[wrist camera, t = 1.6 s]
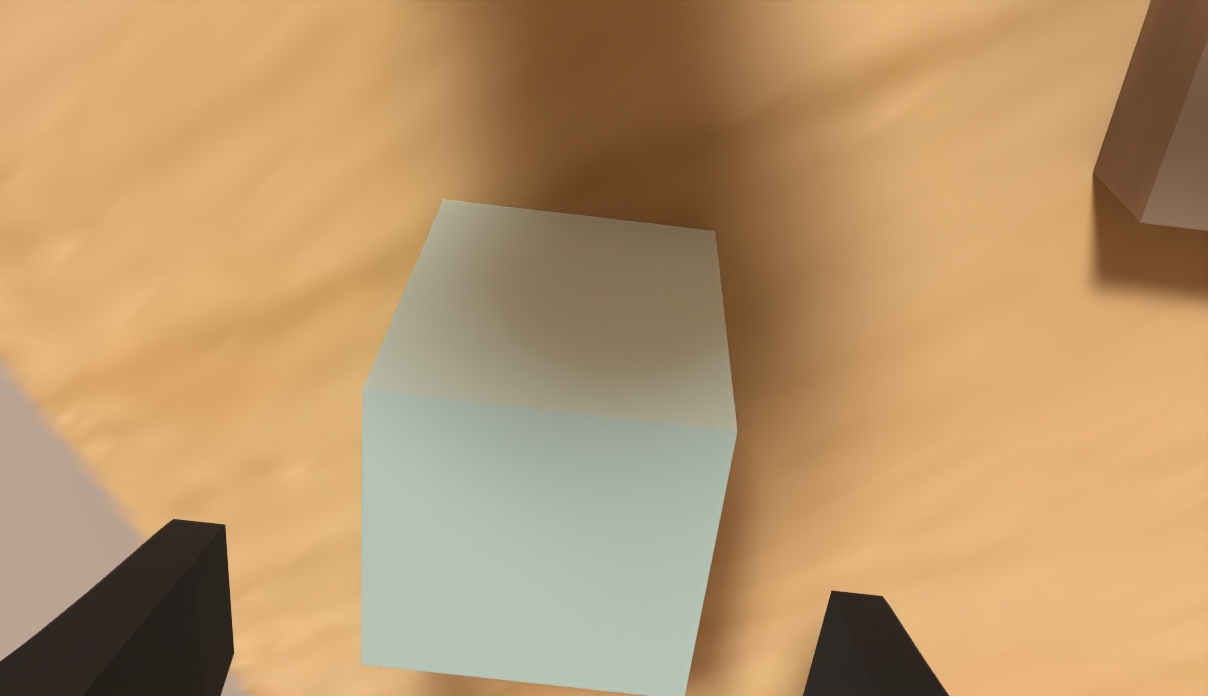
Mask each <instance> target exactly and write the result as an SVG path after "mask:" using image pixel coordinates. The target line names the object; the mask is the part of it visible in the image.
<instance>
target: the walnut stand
mask: <svg viewBox="0 0 1208 696" xmlns="http://www.w3.org/2000/svg"><path fill="white" fill-rule="evenodd" d="M1094 174H1095V175H1096V176H1097V177H1098V178H1099V179H1100V180H1101V181H1102V182H1103V183H1104V185H1105V186H1106V187H1107V188H1108V189H1109V190H1110V191H1111V192H1112V193H1113V194H1114V195H1115V196H1116V198H1117V199H1118V200H1119V201H1120V202H1121V203H1122V204H1123V205H1124V206H1125V207H1126V208H1127V209H1128V210H1129V212H1130V213H1131V214H1132V215H1133V216H1134V217H1135V218H1136V219H1137V220H1138V221H1139V222H1140V223H1146V224H1154V225H1163V226H1171V227H1180V228H1188V229H1197V230H1205V231H1208V0H1152V1H1151V4H1150V7H1149V10H1148V13H1147V16H1146V19H1145V22H1144V25H1143V28H1142V31H1141V34H1140V37H1139V40H1138V43H1137V46H1136V49H1135V52H1134V54H1133V57H1132V60H1131V63H1130V66H1129V69H1128V72H1127V75H1126V78H1125V81H1124V84H1123V87H1122V90H1121V93H1120V96H1119V99H1118V102H1117V105H1116V108H1115V111H1114V114H1113V117H1112V119H1111V122H1110V125H1109V128H1108V131H1107V134H1106V137H1105V140H1104V143H1103V146H1102V149H1101V152H1100V155H1099V158H1098V161H1097V164H1096V167H1095V170H1094Z"/></svg>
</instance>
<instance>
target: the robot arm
mask: <svg viewBox="0 0 1208 696" xmlns="http://www.w3.org/2000/svg"><path fill="white" fill-rule="evenodd" d="M233 655H234V644H233V630H232V616H231V601H230V587H229V573H228V558H227V544H226V530H225V525H223V524H214V523H205V522H196V521H187V520H177V519H173V520H172V521H170V522H169V523H168V524H166V525H165V526H164V527H163V528H161V529H160V530H159V531H158V532H157V533H155V534H154V535H153V536H152V537H151V538H150V539H148V540H147V541H146V542H145V543H144V544H143V545H141V546H140V547H139V548H138V549H137V550H136V551H135V552H133V553H132V554H131V555H130V556H129V557H128V558H127V559H125V560H124V561H123V562H122V563H121V564H120V565H119V566H117V567H116V568H115V569H114V570H113V571H112V572H110V573H109V574H108V575H107V576H106V577H105V578H103V579H102V580H101V581H100V582H99V583H97V584H96V585H95V586H94V587H93V588H92V589H90V590H89V591H88V592H87V593H86V594H85V595H83V596H82V597H81V598H80V599H78V600H77V601H76V602H75V603H74V604H72V605H71V606H70V607H69V608H67V609H66V610H65V611H64V612H63V613H61V614H60V615H59V616H58V617H57V618H55V619H54V620H53V621H52V622H50V623H49V624H48V625H47V626H46V627H44V628H43V629H42V630H41V631H39V632H38V633H37V634H36V635H34V636H33V637H32V638H31V639H29V640H28V641H27V642H25V643H24V644H23V645H22V646H20V647H19V648H18V649H16V650H15V651H14V652H12V653H11V654H10V655H8V656H7V657H5V658H4V659H3V660H2V661H0V696H221V692H222V689H223V686H224V683H225V680H226V677H227V673H228V670H229V667H230V664H231V661H232V658H233ZM803 696H949V695H948V693H947V692H946V690H945V689H944V688H943V686H942V685H941V683H940V682H939V680H938V679H937V677H936V676H935V674H934V673H933V671H932V670H931V668H930V667H929V665H928V664H927V662H926V661H925V659H924V658H923V656H922V655H921V653H920V652H919V650H918V649H917V647H916V646H915V644H914V643H913V641H912V639H911V638H910V636H909V635H908V633H907V632H906V630H905V629H904V627H903V626H902V624H901V622H900V621H899V619H898V618H897V616H896V615H895V613H894V612H893V610H892V609H891V607H890V606H889V604H888V603H887V602H886V600H885V599H884V598H883V596H876V595H867V594H857V593H848V592H839V591H831V595H830V598H829V602H828V606H827V609H826V613H825V617H824V621H823V624H822V628H821V632H820V635H819V639H818V643H817V646H816V650H815V654H814V657H813V661H812V665H811V668H810V672H809V676H808V679H807V683H806V687H805V690H804V694H803Z"/></svg>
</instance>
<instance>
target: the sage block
mask: <svg viewBox="0 0 1208 696" xmlns="http://www.w3.org/2000/svg"><path fill="white" fill-rule="evenodd" d="M737 432H738V431H737V422H736V413H735V404H734V395H733V386H732V377H731V368H730V359H729V350H728V341H727V332H726V323H725V314H724V305H723V296H722V287H721V278H720V269H719V260H718V251H717V242H716V233H715V231H714V230H705V229H697V228H688V227H679V226H671V225H662V224H654V223H645V222H636V221H628V220H619V219H611V218H602V217H593V216H585V215H576V214H568V213H559V212H550V211H542V210H533V209H525V208H516V207H507V206H499V205H490V204H482V203H473V202H464V201H456V200H447V199H443V201H442V203H441V206H440V208H439V211H438V213H437V215H436V218H435V220H434V222H433V225H432V227H431V229H430V232H429V234H428V236H427V239H426V241H425V244H424V246H423V248H422V251H421V253H420V255H419V258H418V260H417V262H416V265H415V267H414V269H413V272H412V274H411V276H410V279H409V281H408V284H407V286H406V288H405V291H404V293H403V295H402V298H401V300H400V302H399V305H398V307H397V309H396V312H395V314H394V317H393V319H392V321H391V324H390V326H389V328H388V331H387V333H386V335H385V338H384V340H383V342H382V345H381V347H380V349H379V352H378V354H377V357H376V359H375V361H374V364H373V366H372V368H371V371H370V373H369V375H368V378H367V380H366V382H365V385H364V387H363V419H362V599H361V665H371V666H380V667H389V668H398V669H408V670H417V671H426V672H435V673H444V674H454V675H463V676H472V677H481V678H491V679H500V680H509V681H518V682H527V683H537V684H546V685H555V686H564V687H574V688H583V689H592V690H601V691H610V692H620V693H629V694H638V695H647V696H685V692H686V687H687V682H688V677H689V672H690V667H691V662H692V657H693V652H694V647H695V642H696V637H697V632H698V627H699V622H700V617H701V612H702V607H703V602H704V597H705V592H706V587H707V582H708V577H709V572H710V567H711V562H712V557H713V552H714V547H715V542H716V537H717V532H718V527H719V522H720V517H721V512H722V507H723V502H724V497H725V492H726V487H727V482H728V477H729V472H730V467H731V462H732V457H733V452H734V447H735V442H736V437H737Z"/></svg>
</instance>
